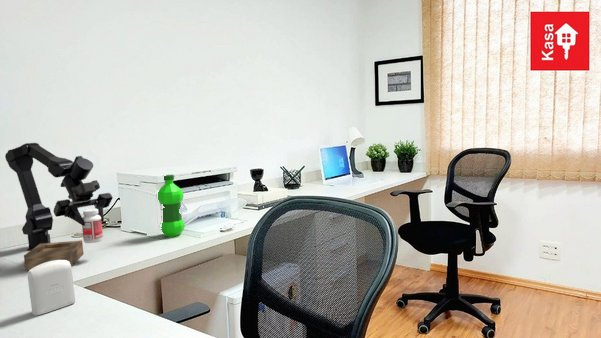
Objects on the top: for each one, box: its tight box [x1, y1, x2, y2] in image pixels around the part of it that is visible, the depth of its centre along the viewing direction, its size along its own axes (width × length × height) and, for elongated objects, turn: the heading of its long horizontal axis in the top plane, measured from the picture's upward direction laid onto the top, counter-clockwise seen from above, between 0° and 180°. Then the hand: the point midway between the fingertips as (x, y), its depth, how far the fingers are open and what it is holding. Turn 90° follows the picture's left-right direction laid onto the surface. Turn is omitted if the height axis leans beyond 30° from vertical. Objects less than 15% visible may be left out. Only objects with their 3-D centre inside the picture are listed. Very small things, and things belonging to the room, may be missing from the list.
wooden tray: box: [23, 239, 85, 271], centre depth 153 cm, size 14×14×5 cm
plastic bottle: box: [157, 174, 186, 238], centre depth 182 cm, size 10×10×25 cm
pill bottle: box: [81, 208, 104, 244], centre depth 154 cm, size 6×6×11 cm
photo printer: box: [27, 260, 76, 316], centre depth 114 cm, size 10×4×12 cm, turn 140°
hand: (93, 223), depth 153 cm, fingers closed on pill bottle, 6 cm apart
